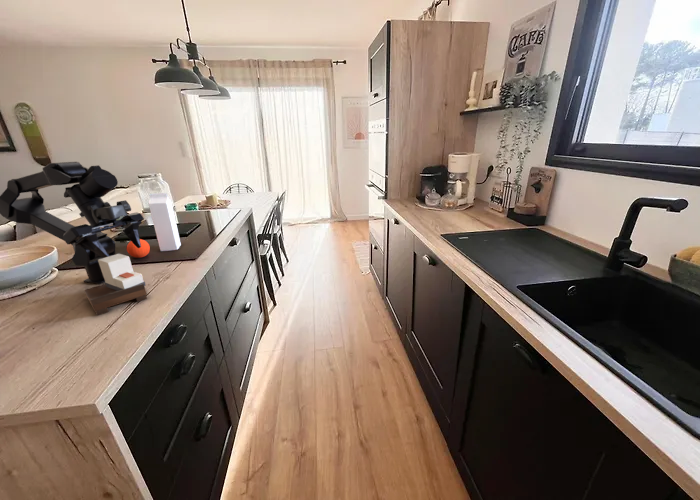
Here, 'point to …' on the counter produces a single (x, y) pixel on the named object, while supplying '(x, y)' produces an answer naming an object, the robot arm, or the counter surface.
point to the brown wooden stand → (113, 296)
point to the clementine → (138, 249)
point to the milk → (164, 222)
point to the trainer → (119, 272)
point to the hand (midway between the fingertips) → (125, 252)
